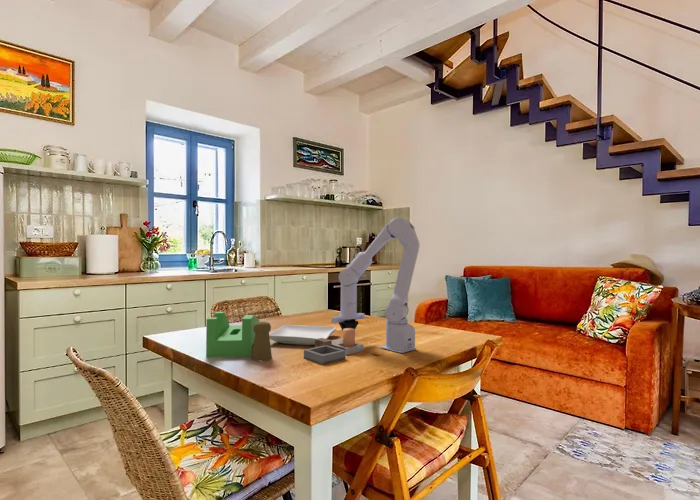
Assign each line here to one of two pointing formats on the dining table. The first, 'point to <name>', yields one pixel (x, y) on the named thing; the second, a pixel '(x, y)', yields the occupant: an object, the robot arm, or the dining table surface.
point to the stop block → (322, 342)
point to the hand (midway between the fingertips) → (348, 341)
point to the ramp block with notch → (229, 336)
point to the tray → (324, 354)
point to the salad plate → (300, 334)
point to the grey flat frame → (348, 350)
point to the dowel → (348, 337)
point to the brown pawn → (261, 342)
